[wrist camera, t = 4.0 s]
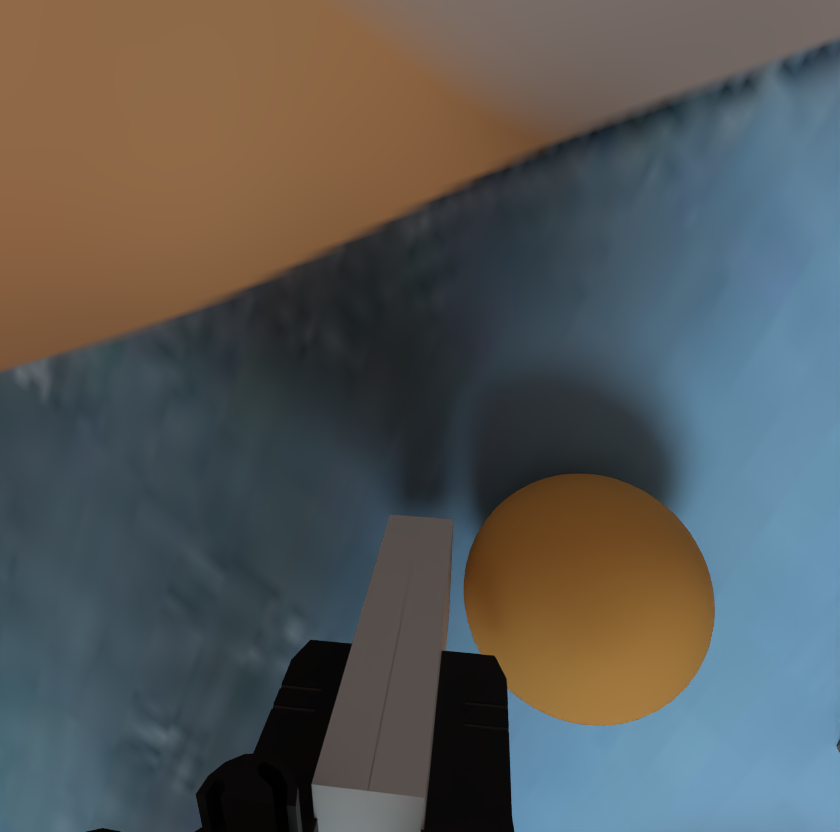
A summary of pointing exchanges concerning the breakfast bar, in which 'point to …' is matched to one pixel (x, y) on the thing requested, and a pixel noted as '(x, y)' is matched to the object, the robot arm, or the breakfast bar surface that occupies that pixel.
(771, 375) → the breakfast bar surface
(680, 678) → the ball
